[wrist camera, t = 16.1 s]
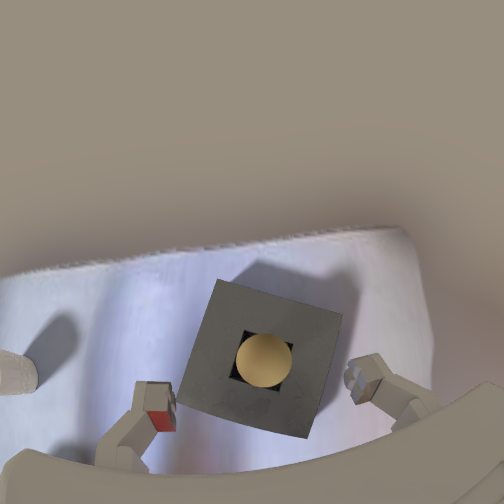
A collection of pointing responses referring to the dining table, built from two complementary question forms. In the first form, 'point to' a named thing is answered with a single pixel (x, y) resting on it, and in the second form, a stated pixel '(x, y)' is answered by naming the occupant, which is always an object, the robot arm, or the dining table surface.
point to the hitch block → (225, 352)
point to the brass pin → (264, 360)
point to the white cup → (16, 374)
